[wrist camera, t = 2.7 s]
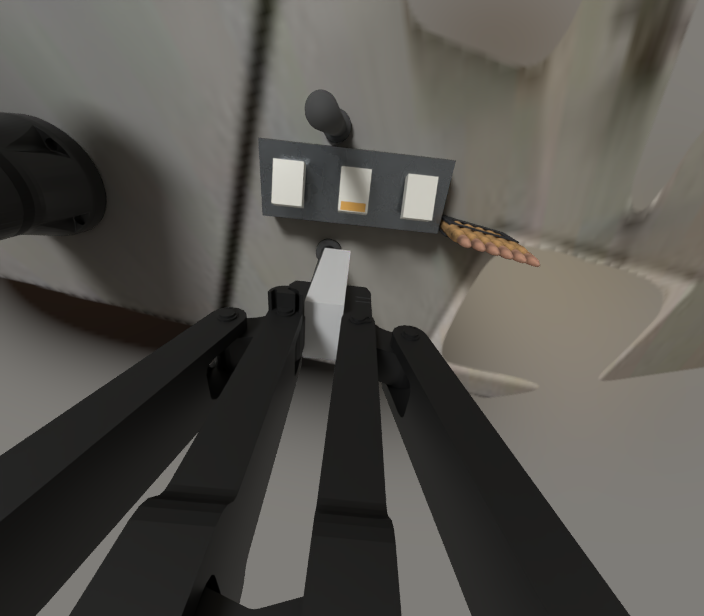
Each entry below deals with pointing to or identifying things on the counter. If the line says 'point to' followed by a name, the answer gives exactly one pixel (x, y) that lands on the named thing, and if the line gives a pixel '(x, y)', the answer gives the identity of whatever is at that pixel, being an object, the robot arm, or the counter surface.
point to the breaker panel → (326, 183)
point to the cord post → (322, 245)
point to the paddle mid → (354, 190)
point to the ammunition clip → (485, 240)
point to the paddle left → (288, 183)
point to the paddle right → (419, 197)
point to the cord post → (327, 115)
